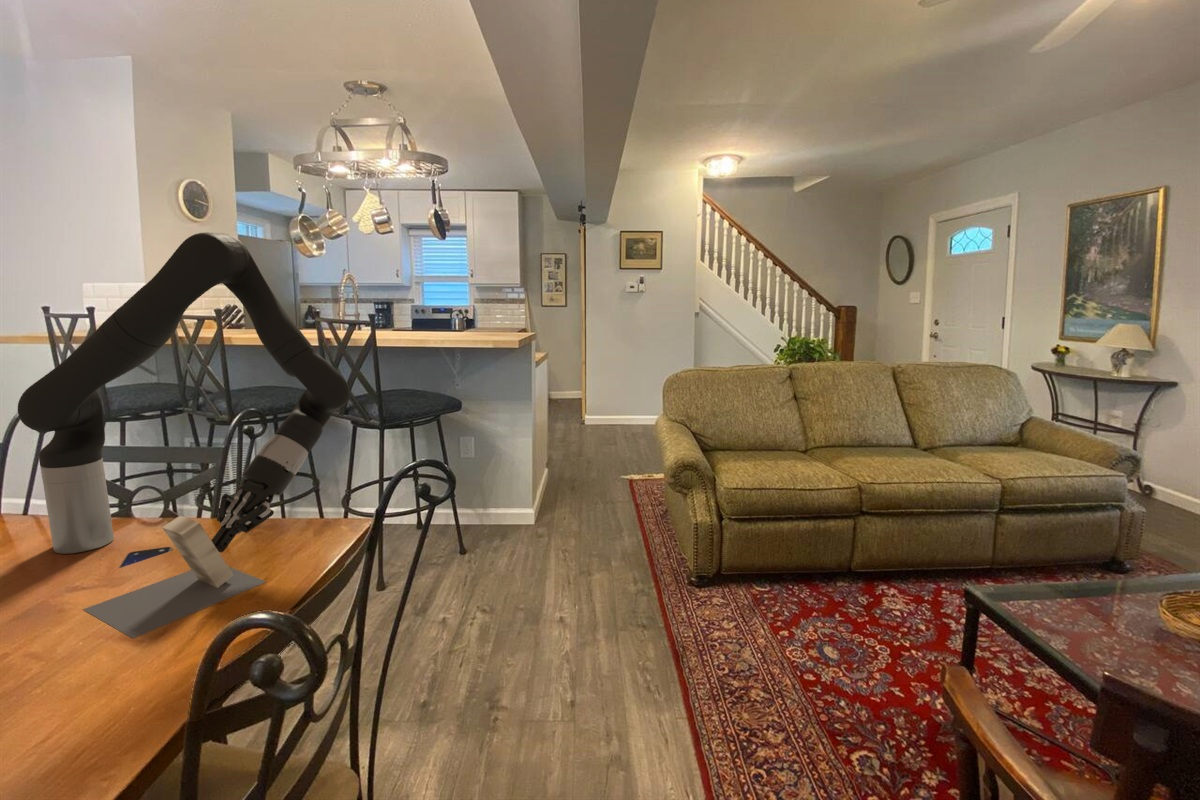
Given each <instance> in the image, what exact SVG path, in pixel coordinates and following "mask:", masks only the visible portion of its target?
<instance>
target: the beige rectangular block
mask: <svg viewBox="0 0 1200 800" xmlns="http://www.w3.org/2000/svg"><path fill="white" fill-rule="evenodd" d="M161 527H162V529H163V531H164V532H165V534H166V535H167V537H168V538H169V539H170V541H171V542H172V544H173V545H174V547H175V548H176V550H177V551H178V552H179V554H180V555H181V556H182V558H183V560H184V561H185V563H186V564H187V566H188V567H189V568H190V570H192V571H193V573H194V574H195V575H196V577H197V578H198V580H200V581H203V582H205V583H207V584H210V585H212V586H214V587H217V588H218V587H220V586H221V585H222V584H223V583H225V582H226V581H227V580H228V579H230V578H231V577H232V576H234V575H233V573H232V572H231V570H230V569H229V567H230V566H228V564H227V562H226V561H225V559H224V558H223V556H222V555H221V552H218V550H217V548H216V547H215V545H214V544H213V542H212V541H211V540H212V539H211V538H210V536H209V535H208V533H207V532H206V529H204V527H203V525H202V524H201V523H200V522H199V521H196V520H194V519H191V518H188V517H185V516H182V515H178V516H177V517H176V518H174V519H172V520H170V522H168V523H167V524H165V525H164V526H161Z"/></svg>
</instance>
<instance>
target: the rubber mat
mask: <svg viewBox="0 0 1200 800" xmlns="http://www.w3.org/2000/svg"><path fill="white" fill-rule="evenodd" d="M228 567H229V569H230V570H231V572H232V573H233V575H234V576H232V577H231V578H230V579H228V580H227V581H226V582H225V583H223V584H222V585H221V586H220V587H218V588H217V587H214V586H212V585H210V584H207V583H205V582H203V581H200V580H198V578H197V577H196V575H195V574H194V573H193V571H192V570H191V569H190V570H188V571H185V572H182V573H179V574H176V575H173V576H170V577H168V578H166V579H163V580H160V581H157V582H154V583H152V584H149V585H146V586H142V587H141V588H137V589H135V590H132V591H130V592H127V593H124V594H121V595H118V596H116V597H112V598H111V599H108V600H105V601H102V602H99V603H97V604H93V605H90V606H88V607H86V608H83V609H82V611H84V612H85V613H87V614H90V615H91V616H93V617H94V618H96V619H98V620H100V621H101V622H103V623H105V624H107V625H108V626H110V627H111V628H112V629H115V630H117V631H119V632H121V633H123V634H124V635H126V636H128V637H129V638H131V639H135V638H137V637H140V636H142V635H145V634H147V633H150V632H152V631H154V630H157V629H158V628H162V627H164V626H166V625H168V624H171V623H173V622H175V621H178V620H180V619H182V618H185V617H188V616H190V615H192V614H195V613H197V612H199V611H201V610H204V609H206V608H208V607H211V606H213V605H216V604H218V603H220V602H222V601H226V600H228V599H231V598H232V597H235V596H237V595H239V594H242V593H244V592H247V591H249V590H251V589H254V588H256V587H258V586H261V585H264V584H266V583H267V581H266V580H264V579H261V578H258V577H256V576H253V575H251V574H248V573H246V572H244V571H241V570H238V569H236V568H233V567H231V566H228Z"/></svg>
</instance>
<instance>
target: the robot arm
mask: <svg viewBox="0 0 1200 800" xmlns="http://www.w3.org/2000/svg"><path fill="white" fill-rule="evenodd" d="M217 285H224V286H225V287H226V288H227V289H228V290H229V291H230V292H231V293H232V294H233V295H234V296H235V298H237V300H239V302H240V304H242V306H243V307H244V309H245V311H246V313H247V314H248V316H249V318H250V320H251V322H252V325H253V327H254V330H255V333H256V335H257V336H258V338H259V339H260V342H261V343H262V345H263V346H264V348H265V350H266V351H267V352H268V353H269V355H271V357H272V359H274V361H275V362H276V363H277V364H278V365H279V367H280V368H281V369H282V370H283V372H285V374H286V375H288V376H290V377H293V378H294V377H295V378H296V379H297V380H298V381H299V382H300V383H301V384H302V385H303V386H304V388H306V389H305V390H304V391H303V392H302V394H301V395H300V397H299V399H298V400H297V403H296V404H295V406H294V407H293V408H292V411H291V413H290V414H289V415H288V416H287V417H286V418H285V419H284V420H283V422H282V423H281V424H280V426H279V427H278V428H277V430H276V431H275V433H274V434H273V435H272V436H271V437H270V438H269V439H268V440H267V441H266V442H265V443H264V445H263V446H262V448H260V451H258V453H257V454H256V455H255V457H254V458H253V459H252V461H251V462H250V463H249V464H248V466H247V467H246V469H244V471H243V473H242V478H243V480H244V482H243V483H242V484H241V485H240V486H239V487H238V488H237V489H236V491H235V492H234V493H232V494H228V493H224V494H222V496H221V499H220V503H219V509H218V514H217V517H216V521H218V522H219V523H220V525H219V526H220V528H219V529H218V531H217V532H216V534H215V535H214V536H213V538H212V539H211V541H212V542H213V544H214V545H215V547H216V548H217V550H218V552H219V553H223V552H224V551H225V550H226V549H227V548H228V546H230V544H231V542H232V541H233V539H234V538H235V537H236V536H237V535H239V534H241V533H242V532H243V533H245V534H247V533H249V532H250V531H252V530H253V529H255V528H256V527H257V526H259V525H260V524H262V523H263V522H265V521H266V520H268V519H269V518H271V517H273V515H274V514H275V511H274V510H273V509H271V506H270V505H271V503H272V502H273V500H274V497H275V496H281V495H283V493H284V492H285V490H286V489H287V487H288V486H289V485H290V484H291V482H292V481H293V479H294V477H295V476H296V475H297V473H298V472H299V470H300V469H301V467H303V465H304V462H305V460H306V459H307V457H308V455H309V454H310V452H311V451H312V449H314V446H315V445H316V444H317V443H318V441H319V439H320V438H321V436H322V433H323V429H324V426H325V425H326V424H327V423H328V421H329V420H330V418H331V416H333V414H334V413H335V412H336V411H338V409H341V408H342V407H344V406H345V405H346V404H347V403H348V401H349V400H350V398H351V389H350V386H349V384H348V382H347V380H346V379H345V377H344V376H343V375H342V374H341V373H340V372H339V371H338V370H337V369H336V368H335V367H334V366H333V365H332V364H331V363H329V361H327V360H326V359H325V358H324V357H323V356H321V355H320V354H319V353H318V352H317V350H316V349H315V348H314V347H313V345H312V344H311V343H310V341H309V339H307V337H306V336H305V335H304V333H302V331H301V330H300V329H299V328H298V326H297V325H296V324H295V322H294V321H293V319H291V317H290V315H288V313H287V312H286V310H285V309H284V308H283V306H282V305H281V303H280V301H279V300H278V298H277V297H276V295H275V293H274V292H273V291H272V289H271V288H270V286H269V284H268V283H267V281H266V280H265V278H264V276H263V274H262V272H261V271H260V269H259V266H258V265H257V263H256V261H255V260H254V258H253V255H252V254H251V253H250V251H249V249H248V248H247V247H246V245H245V244H244V243H243V242H242V241H241V240H240V239H239V238H237V237H235V236H233V235H232V234H231V235H230V234H228V233H222V232H221V233H220V232H199V233H195V234H192V235H190V236H189V237H187V238H186V239H185V240H184V241H182V243H180V245H179V246H178V247H177V249H175V250H174V252H173V253H172V254H171V256H170V257H169V258H168V259H167V260H166V262H165V264H164V265H162V267H161V268H160V269H159V271H158V272H157V273H155V275H154V276H153V277H152V278H151V279H150V280H149V281H148V282H147V283H145V284H144V286H142V287H141V288H139V289H138V290H137V291H136V292H135V293H134V294H133V295H132V296H131V297H129V299H128V300H127V301H126V302H124V303H123V304H122V305H121V306H119V308H117V309H116V310H115V311H114V312H113V313H112V314H111V315H110V316H108V318H106V320H104V321H103V322H102V323H101V325H99V327H98V328H96V329H95V331H93V333H91V335H90V336H88V338H86V340H84V341H83V342H82V343H81V344H80V345H79V346H77V348H76V349H75V350H74V351H72V353H71V354H70V355H68V356H67V358H65V360H64V361H62V362H61V363H59V364H58V365H57V366H56V367H55V368H53V369H52V370H50V371H49V372H48V373H47V374H45V375H44V376H43V377H41V378H40V379H38V380H36V382H34V383H33V384H31V385H30V386H29V387H27V389H25V391H24V392H22V395H21V396H20V397H19V400H18V404H17V414H18V418H19V419H20V421H21V423H22V424H23V425H24V426H25V427H27V428H30V429H31V430H35V431H38V432H54V434H53V437H52V438H51V440H50V441H49V443H47V444H46V445H45V446H44V447H43V448H42V449H40V451H39V452H38V460H39V461H38V462H39V465H40V466H39V467H40V474H41V479H42V486H43V492H44V498H45V504H46V512H47V516H48V523H49V530H50V536H51V543H52V549H53V552H55V553H56V554H66V555H67V554H76V553H77V554H78V553H82V552H87V551H91V550H97V549H98V548H101V547H104V546H106V545H108V544H110V543H111V542H113V541H114V539H115V537H114V530H113V522H112V515H111V508H110V500H109V494H108V487H107V480H106V473H105V467H104V466H105V465H104V458H103V448H104V445H105V442H106V432H105V431H106V430H105V417H104V416H105V415H104V408H103V401H102V397H101V395H100V393H99V391H98V390H99V389H100V388H102V387H104V386H105V385H106V384H108V383H110V382H112V381H114V380H115V379H118V378H120V377H122V376H123V375H125V374H127V373H129V372H130V371H132V370H134V369H135V368H137V367H139V366H141V365H142V364H144V362H146V361H147V360H149V359H150V358H151V357H152V356H154V355H155V354H156V353H157V352H158V351H159V350H161V348H162V347H163V346H164V345H166V343H167V342H168V341H169V340H170V339H171V338H172V336H173V335H174V334H175V332H176V331H177V328H178V326H179V324H180V322H181V319H182V317H183V316H184V313H185V312H186V311H187V310H188V309H189V307H190V306H191V305H192V304H193V303H194V302H195V301H197V300H198V299H199V298H200V297H201V296H203V295H204V294H205V293H207V292H209V290H211V289H213V287H216V286H217Z"/></svg>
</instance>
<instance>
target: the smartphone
mask: <svg viewBox="0 0 1200 800" xmlns="http://www.w3.org/2000/svg"><path fill="white" fill-rule="evenodd" d="M173 549H174V548H173V547H171V546H165V547H157V548H151V549H150V548H149V549H144V550H143V549H142V550H135V551H131V552H129V553H127V554H126V555H125V557H124V559H123V561H121V563H120V566H119V567H118V569H121V568H124V567H127V566H130V565H133V564H135V563H138V562H142V561H145V560H148V559H151V558H154V557H157V556H160V555H164V554H167V553H170V552H173Z"/></svg>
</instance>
